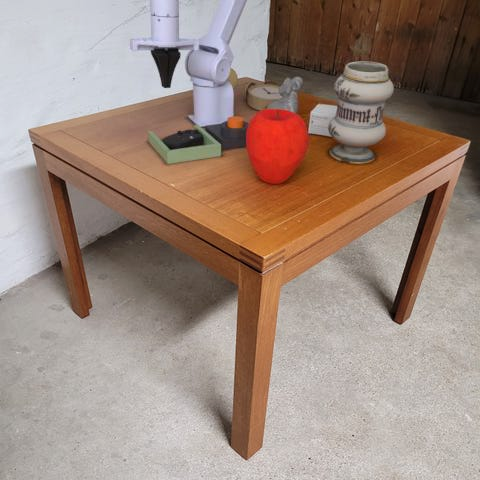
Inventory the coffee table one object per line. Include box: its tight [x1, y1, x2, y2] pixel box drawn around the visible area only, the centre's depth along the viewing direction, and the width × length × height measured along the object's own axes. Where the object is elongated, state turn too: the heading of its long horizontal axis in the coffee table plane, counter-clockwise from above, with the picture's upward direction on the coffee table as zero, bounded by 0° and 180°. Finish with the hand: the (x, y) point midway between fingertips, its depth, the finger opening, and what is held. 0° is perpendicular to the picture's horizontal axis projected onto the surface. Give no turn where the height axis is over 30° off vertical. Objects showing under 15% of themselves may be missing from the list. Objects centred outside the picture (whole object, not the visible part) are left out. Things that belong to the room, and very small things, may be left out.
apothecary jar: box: [328, 60, 395, 165], centre depth 106 cm, size 12×12×18 cm
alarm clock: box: [242, 80, 283, 111], centre depth 138 cm, size 11×5×15 cm
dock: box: [147, 124, 222, 165], centre depth 111 cm, size 12×14×2 cm
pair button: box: [227, 115, 245, 128], centre depth 113 cm, size 4×4×2 cm
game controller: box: [160, 129, 204, 150], centre depth 112 cm, size 10×5×6 cm
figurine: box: [267, 76, 304, 116], centre depth 123 cm, size 8×10×11 cm
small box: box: [307, 103, 337, 138], centre depth 121 cm, size 8×8×5 cm
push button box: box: [204, 121, 249, 151], centre depth 115 cm, size 10×9×4 cm
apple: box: [245, 109, 310, 185], centre depth 96 cm, size 12×12×13 cm
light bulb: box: [226, 67, 239, 92], centre depth 132 cm, size 6×6×10 cm
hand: (166, 87), depth 112 cm, fingers closed
